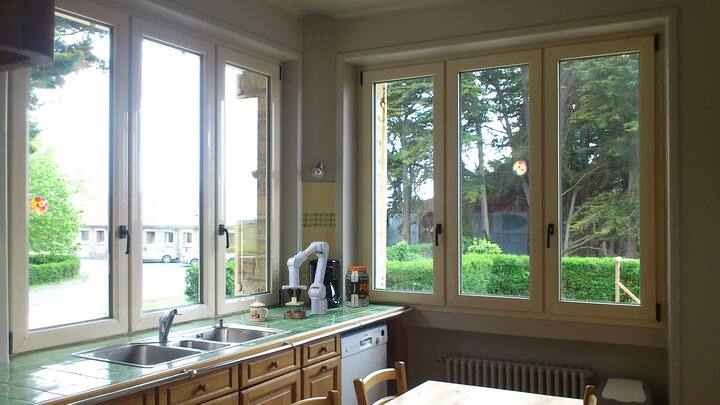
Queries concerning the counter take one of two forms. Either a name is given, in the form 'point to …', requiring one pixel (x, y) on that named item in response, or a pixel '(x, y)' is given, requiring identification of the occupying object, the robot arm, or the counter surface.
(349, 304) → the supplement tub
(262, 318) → the teacup with lid
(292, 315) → the walnut box
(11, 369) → the counter surface
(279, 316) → the rubber mat
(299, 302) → the lid
